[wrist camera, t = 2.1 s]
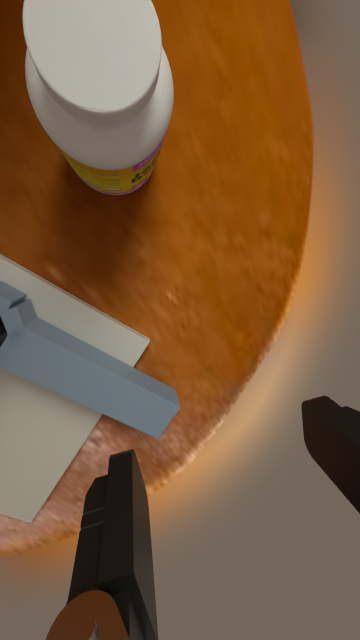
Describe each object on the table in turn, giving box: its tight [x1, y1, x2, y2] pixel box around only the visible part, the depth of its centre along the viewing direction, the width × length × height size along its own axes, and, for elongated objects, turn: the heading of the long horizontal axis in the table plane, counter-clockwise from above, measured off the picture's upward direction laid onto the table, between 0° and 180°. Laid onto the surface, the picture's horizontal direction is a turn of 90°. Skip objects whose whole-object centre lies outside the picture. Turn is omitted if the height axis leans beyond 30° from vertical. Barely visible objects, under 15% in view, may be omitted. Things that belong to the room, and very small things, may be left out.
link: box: [0, 281, 180, 439], centre depth 23 cm, size 19×6×3 cm, turn 56°
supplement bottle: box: [23, 0, 174, 195], centre depth 16 cm, size 7×7×13 cm
